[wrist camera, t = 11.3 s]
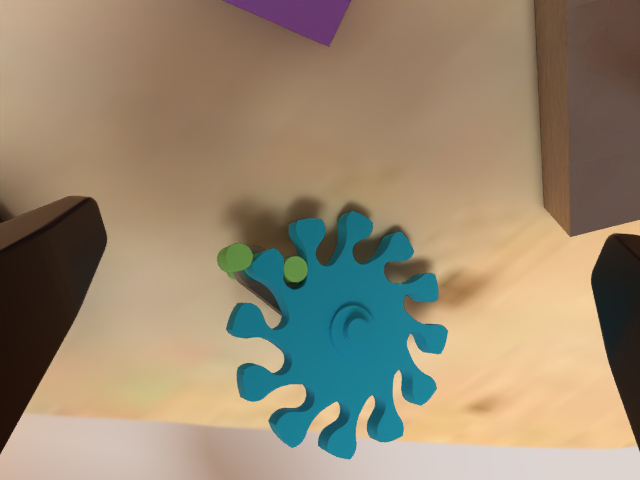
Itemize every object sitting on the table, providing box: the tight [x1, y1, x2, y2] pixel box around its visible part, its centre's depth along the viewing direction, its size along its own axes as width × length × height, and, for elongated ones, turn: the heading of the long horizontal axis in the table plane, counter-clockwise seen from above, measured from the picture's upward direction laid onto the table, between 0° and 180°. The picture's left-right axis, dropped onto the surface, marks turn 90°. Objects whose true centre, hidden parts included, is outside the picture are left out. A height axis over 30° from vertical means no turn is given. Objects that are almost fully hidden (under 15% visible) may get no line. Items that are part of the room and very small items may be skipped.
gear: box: [217, 211, 448, 459], centre depth 22 cm, size 11×6×10 cm
